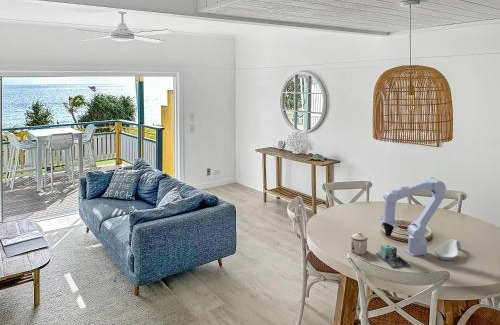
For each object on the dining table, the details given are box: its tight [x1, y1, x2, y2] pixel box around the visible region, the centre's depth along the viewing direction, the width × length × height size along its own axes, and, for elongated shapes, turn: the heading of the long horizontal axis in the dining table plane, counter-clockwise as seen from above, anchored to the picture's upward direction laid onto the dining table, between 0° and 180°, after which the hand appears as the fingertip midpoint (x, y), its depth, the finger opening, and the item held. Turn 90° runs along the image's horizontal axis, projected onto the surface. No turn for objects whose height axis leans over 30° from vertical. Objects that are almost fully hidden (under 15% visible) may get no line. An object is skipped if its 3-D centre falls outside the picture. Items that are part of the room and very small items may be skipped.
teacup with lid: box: [350, 231, 369, 255], centre depth 224 cm, size 12×9×12 cm
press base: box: [375, 250, 411, 269], centre depth 215 cm, size 10×18×2 cm, turn 11°
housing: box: [380, 243, 394, 255], centre depth 219 cm, size 5×5×5 cm
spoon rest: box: [433, 238, 462, 261], centre depth 220 cm, size 24×12×7 cm, turn 136°
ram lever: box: [388, 246, 400, 261], centre depth 214 cm, size 4×6×6 cm, turn 11°
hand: (388, 236), depth 221 cm, fingers closed
